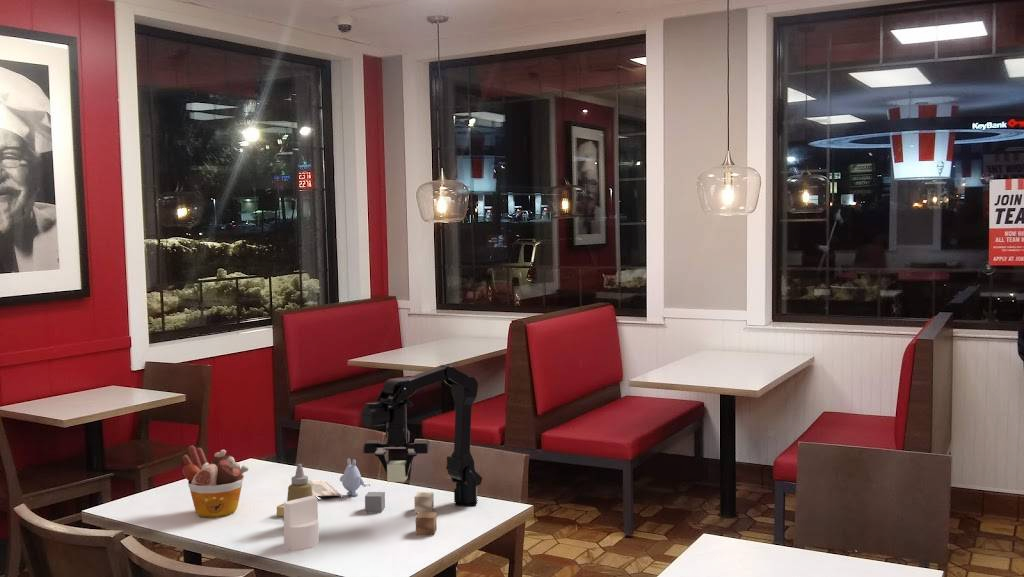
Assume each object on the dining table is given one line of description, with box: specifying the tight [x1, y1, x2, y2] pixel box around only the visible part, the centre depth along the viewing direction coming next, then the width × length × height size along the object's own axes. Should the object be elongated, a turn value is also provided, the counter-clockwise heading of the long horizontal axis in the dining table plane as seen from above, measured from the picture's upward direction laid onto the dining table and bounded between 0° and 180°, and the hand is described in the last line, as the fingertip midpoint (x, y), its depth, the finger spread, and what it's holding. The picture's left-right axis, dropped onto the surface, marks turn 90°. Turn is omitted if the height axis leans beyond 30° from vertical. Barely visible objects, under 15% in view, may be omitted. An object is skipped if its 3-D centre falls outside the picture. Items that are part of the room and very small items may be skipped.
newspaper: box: [308, 479, 344, 501], centre depth 292 cm, size 23×12×2 cm, turn 25°
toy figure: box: [339, 457, 365, 497], centre depth 287 cm, size 11×6×12 cm, turn 55°
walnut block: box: [415, 511, 438, 536], centre depth 248 cm, size 5×5×5 cm
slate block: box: [364, 491, 386, 514], centre depth 271 cm, size 5×5×5 cm
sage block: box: [386, 460, 409, 483], centre depth 260 cm, size 5×5×5 cm
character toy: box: [276, 503, 284, 518], centre depth 266 cm, size 8×3×8 cm
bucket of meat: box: [181, 444, 249, 519], centre depth 269 cm, size 20×16×20 cm
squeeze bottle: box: [286, 463, 313, 502], centre depth 254 cm, size 8×8×18 cm
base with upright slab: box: [283, 496, 320, 551], centre depth 239 cm, size 9×9×12 cm
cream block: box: [413, 491, 435, 513], centre depth 270 cm, size 5×5×5 cm
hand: (397, 476), depth 260 cm, fingers closed on sage block, 5 cm apart
